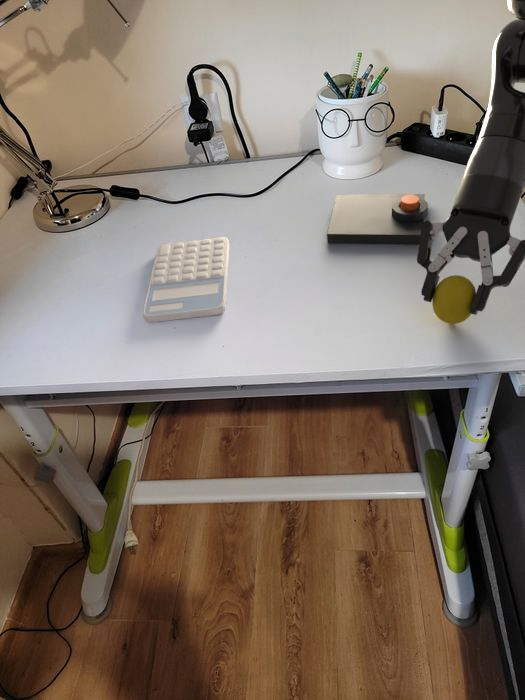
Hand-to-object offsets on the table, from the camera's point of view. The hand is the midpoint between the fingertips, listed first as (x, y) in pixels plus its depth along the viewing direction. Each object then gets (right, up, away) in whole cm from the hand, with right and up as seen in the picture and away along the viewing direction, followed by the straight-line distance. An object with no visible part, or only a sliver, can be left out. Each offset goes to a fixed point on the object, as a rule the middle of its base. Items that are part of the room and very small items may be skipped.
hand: (450, 306), depth 68 cm
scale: (-4, +17, +23) cm, 29 cm away
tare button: (0, +19, +20) cm, 27 cm away
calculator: (-37, +6, +19) cm, 43 cm away
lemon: (+2, -2, +4) cm, 5 cm away
